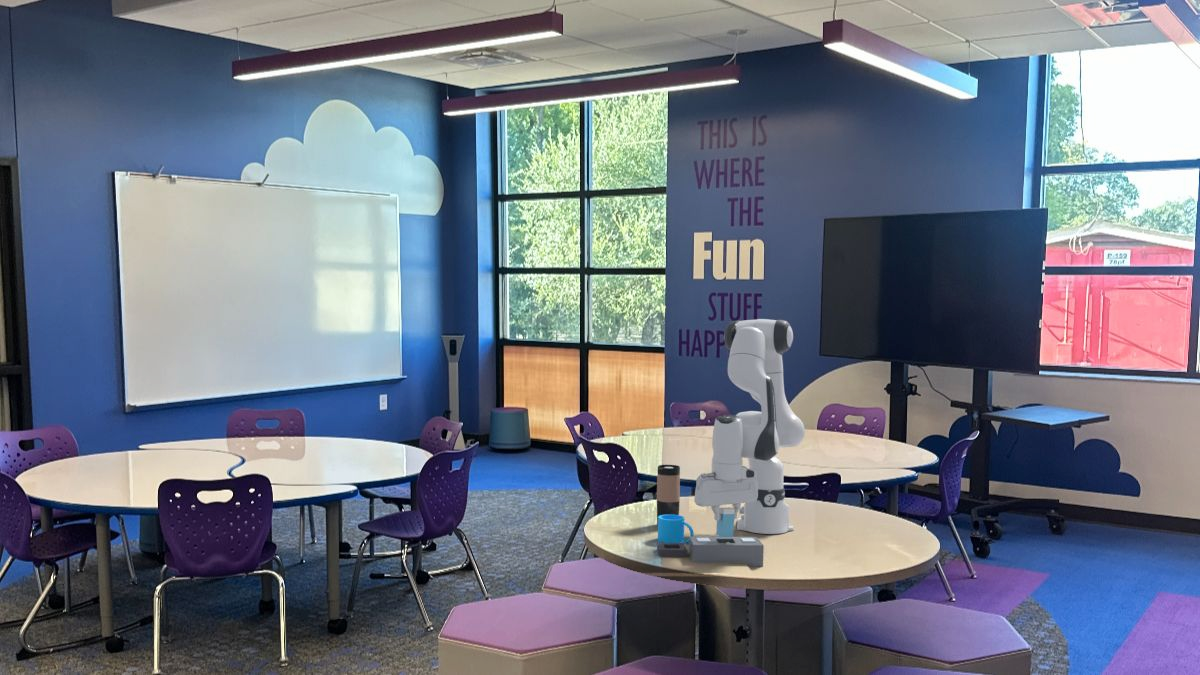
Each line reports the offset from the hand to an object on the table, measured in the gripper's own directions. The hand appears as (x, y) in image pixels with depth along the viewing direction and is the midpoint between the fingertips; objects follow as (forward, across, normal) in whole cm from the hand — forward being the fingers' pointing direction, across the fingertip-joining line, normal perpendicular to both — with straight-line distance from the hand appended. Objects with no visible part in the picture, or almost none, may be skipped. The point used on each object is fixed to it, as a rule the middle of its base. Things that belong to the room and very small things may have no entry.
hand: (725, 519), depth 279 cm
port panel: (+12, 0, 0) cm, 12 cm away
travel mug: (+12, +9, +46) cm, 48 cm away
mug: (+12, -2, +23) cm, 26 cm away
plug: (+5, 0, 0) cm, 5 cm away
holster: (+12, -11, +11) cm, 20 cm away
